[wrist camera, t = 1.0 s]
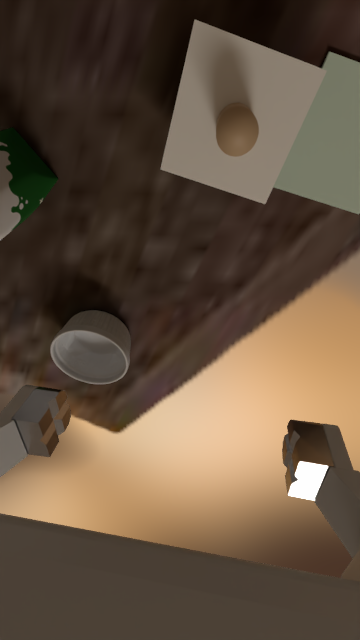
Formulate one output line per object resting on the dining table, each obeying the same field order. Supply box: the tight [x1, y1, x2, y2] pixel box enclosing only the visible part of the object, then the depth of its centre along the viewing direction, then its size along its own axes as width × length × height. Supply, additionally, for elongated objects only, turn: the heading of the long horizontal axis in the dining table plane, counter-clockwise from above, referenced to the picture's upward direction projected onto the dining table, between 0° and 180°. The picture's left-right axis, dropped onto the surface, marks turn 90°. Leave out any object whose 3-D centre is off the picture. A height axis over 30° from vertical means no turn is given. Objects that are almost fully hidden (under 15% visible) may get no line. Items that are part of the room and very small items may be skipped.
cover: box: [161, 20, 327, 204], centre depth 29 cm, size 12×12×5 cm
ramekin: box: [50, 310, 131, 384], centre depth 55 cm, size 13×13×7 cm
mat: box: [273, 52, 360, 214], centre depth 35 cm, size 13×12×1 cm
